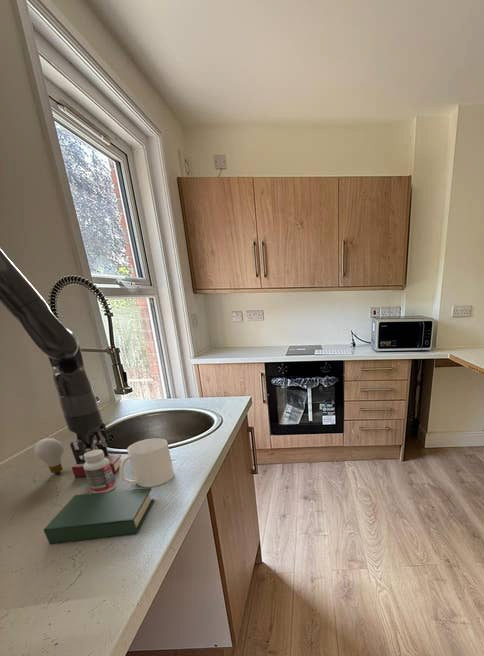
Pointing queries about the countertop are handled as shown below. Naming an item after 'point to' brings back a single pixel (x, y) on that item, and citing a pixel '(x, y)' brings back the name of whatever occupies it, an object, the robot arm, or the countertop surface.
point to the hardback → (100, 516)
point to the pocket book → (114, 460)
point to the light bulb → (50, 453)
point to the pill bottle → (98, 472)
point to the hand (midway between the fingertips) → (99, 467)
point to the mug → (149, 463)
